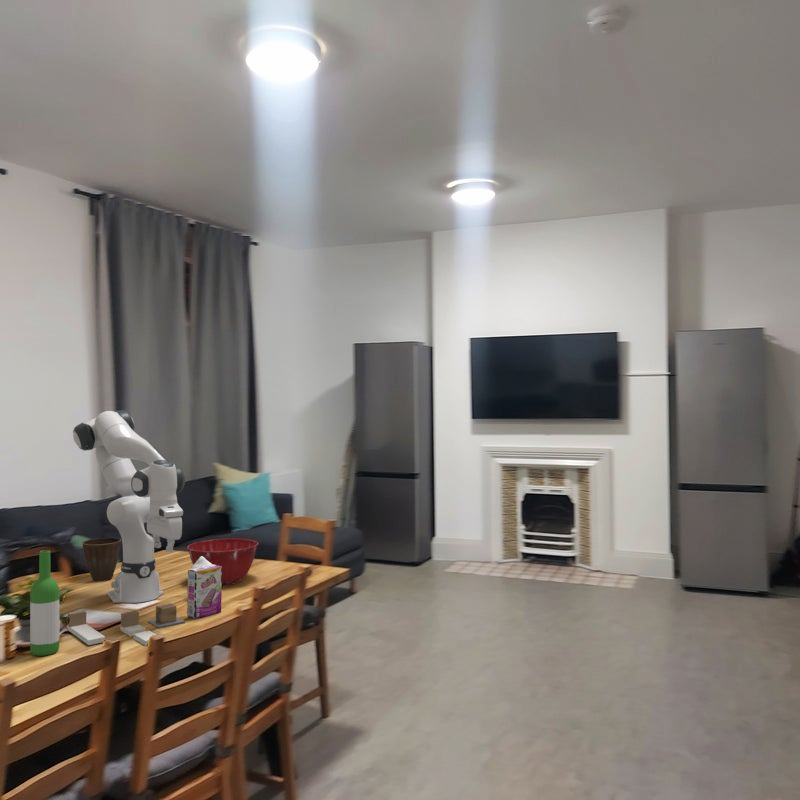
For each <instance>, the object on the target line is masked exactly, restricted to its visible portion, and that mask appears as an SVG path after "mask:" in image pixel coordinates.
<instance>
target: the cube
mask: <svg viewBox="0 0 800 800" xmlns="http://www.w3.org/2000/svg"><path fill="white" fill-rule="evenodd" d="M176 617H177V605H175V604H173V603H170V602H168V603H164V604H163V603H162V604H159V605H158V604H157V605H155V619H156V621H157V622H159V623H161V624H165V623H169V622H174V621H177V620H176Z"/></svg>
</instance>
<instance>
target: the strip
mask: <svg viewBox="0 0 800 800" xmlns="http://www.w3.org/2000/svg"><path fill="white" fill-rule="evenodd" d="M68 617H69V618H70V623H69V624H68V623H67V631H68V632H70V633H71V634H73V635H74V636H75V637H76V638H78V639H79V640H81V641H82V642H84V643H85V644H86V645H88V646H91V645H97V644H101V643H104V642H103V641H104V640H105V641H106V636H105V635H103V634H102V633H100V632H99V631H97V630H96V629H94V627H92V626H90V625H89V624H87V611H86V610H84V609H83V610H78V611H71V612H67V618H68Z"/></svg>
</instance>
